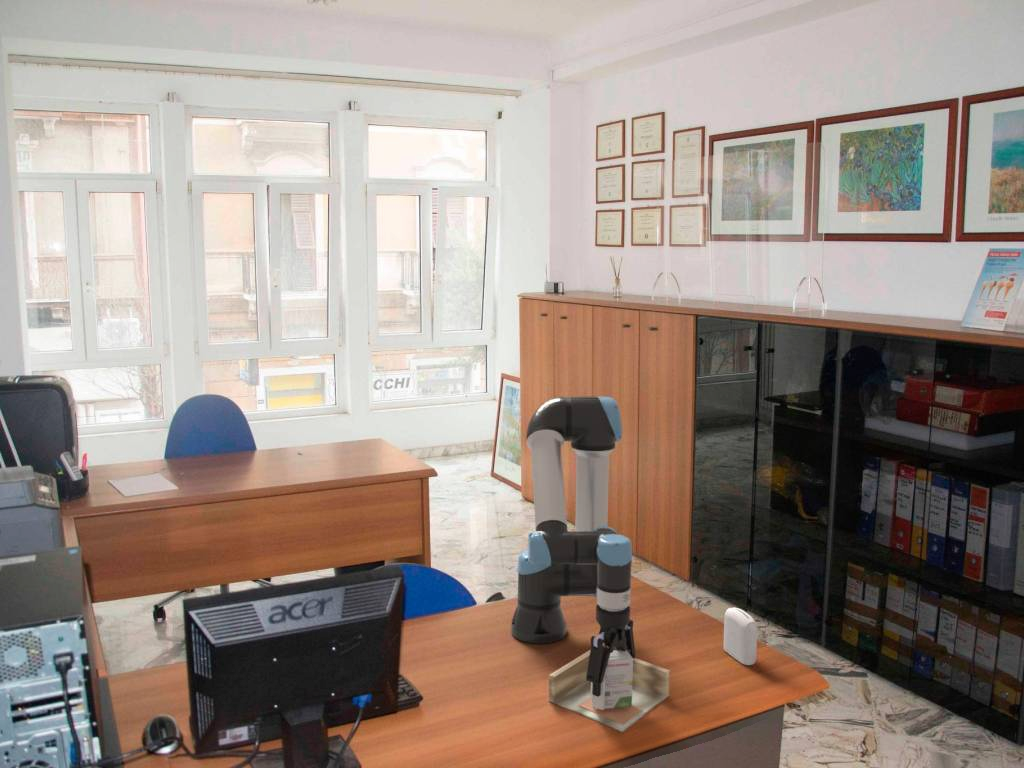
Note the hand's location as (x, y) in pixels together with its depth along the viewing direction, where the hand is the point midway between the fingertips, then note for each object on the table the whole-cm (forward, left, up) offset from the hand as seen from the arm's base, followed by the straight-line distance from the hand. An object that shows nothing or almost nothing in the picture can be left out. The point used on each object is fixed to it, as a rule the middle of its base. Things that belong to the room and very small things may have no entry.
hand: (610, 698), depth 198 cm
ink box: (0, 0, -1) cm, 1 cm away
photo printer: (+11, +43, -3) cm, 44 cm away
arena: (-3, +4, -3) cm, 6 cm away
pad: (0, 0, -3) cm, 3 cm away
